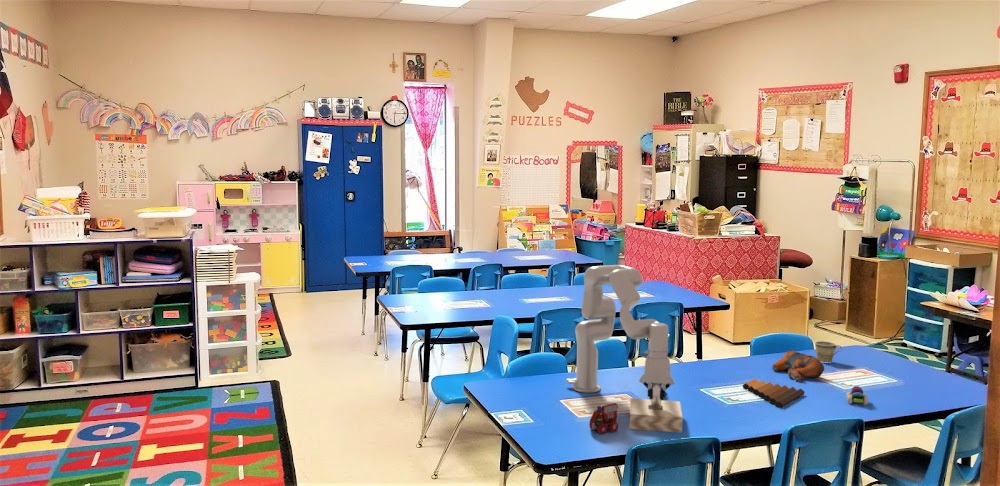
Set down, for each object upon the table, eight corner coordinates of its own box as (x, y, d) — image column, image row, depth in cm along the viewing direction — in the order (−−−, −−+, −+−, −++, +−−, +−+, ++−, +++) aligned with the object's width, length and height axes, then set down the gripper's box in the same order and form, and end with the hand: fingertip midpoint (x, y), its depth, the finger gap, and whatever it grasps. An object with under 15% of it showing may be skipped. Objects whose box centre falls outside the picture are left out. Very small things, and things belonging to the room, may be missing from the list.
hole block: (629, 428, 301) (630, 413, 301) (630, 412, 321) (630, 398, 320) (681, 432, 298) (682, 417, 297) (679, 415, 317) (679, 401, 317)
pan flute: (782, 409, 329) (804, 396, 347) (783, 402, 328) (804, 389, 347) (727, 396, 345) (751, 384, 364) (728, 389, 345) (751, 377, 363)
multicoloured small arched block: (866, 400, 341) (867, 385, 340) (868, 407, 332) (870, 391, 331) (845, 398, 344) (846, 382, 343) (847, 405, 335) (848, 389, 334)
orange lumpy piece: (786, 362, 397) (760, 370, 391) (790, 340, 392) (763, 347, 386) (823, 387, 376) (796, 396, 370) (827, 364, 371) (800, 372, 365)
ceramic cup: (816, 364, 400) (817, 345, 399) (812, 359, 410) (813, 340, 409) (843, 365, 398) (844, 346, 397) (837, 360, 408) (839, 342, 407)
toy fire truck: (584, 430, 299) (585, 404, 298) (611, 425, 305) (612, 399, 304) (595, 436, 293) (595, 409, 292) (621, 431, 299) (622, 405, 298)
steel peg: (650, 407, 307) (651, 383, 306) (650, 404, 311) (651, 380, 310) (661, 408, 306) (662, 383, 305) (660, 405, 310) (661, 381, 309)
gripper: (636, 355, 304) (634, 400, 306) (679, 357, 301) (678, 403, 303) (636, 350, 311) (635, 394, 313) (678, 353, 308) (677, 397, 310)
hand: (656, 398), depth 308 cm, fingers closed on steel peg, 4 cm apart
